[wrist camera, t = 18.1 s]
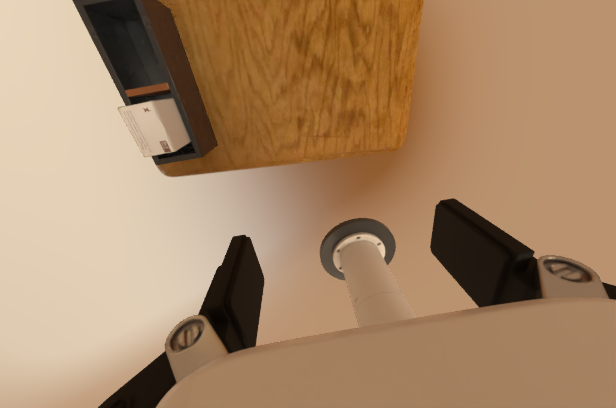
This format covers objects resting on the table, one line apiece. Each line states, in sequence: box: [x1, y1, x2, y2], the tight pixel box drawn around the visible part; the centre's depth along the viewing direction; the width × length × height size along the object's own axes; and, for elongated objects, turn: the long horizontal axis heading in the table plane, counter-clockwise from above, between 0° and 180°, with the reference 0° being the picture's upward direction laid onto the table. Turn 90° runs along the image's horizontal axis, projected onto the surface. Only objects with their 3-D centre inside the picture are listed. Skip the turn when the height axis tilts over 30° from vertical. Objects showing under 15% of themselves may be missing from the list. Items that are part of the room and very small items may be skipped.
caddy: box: [73, 0, 218, 165], centre depth 32 cm, size 19×7×8 cm, turn 9°
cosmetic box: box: [118, 98, 191, 157], centre depth 31 cm, size 6×4×12 cm
